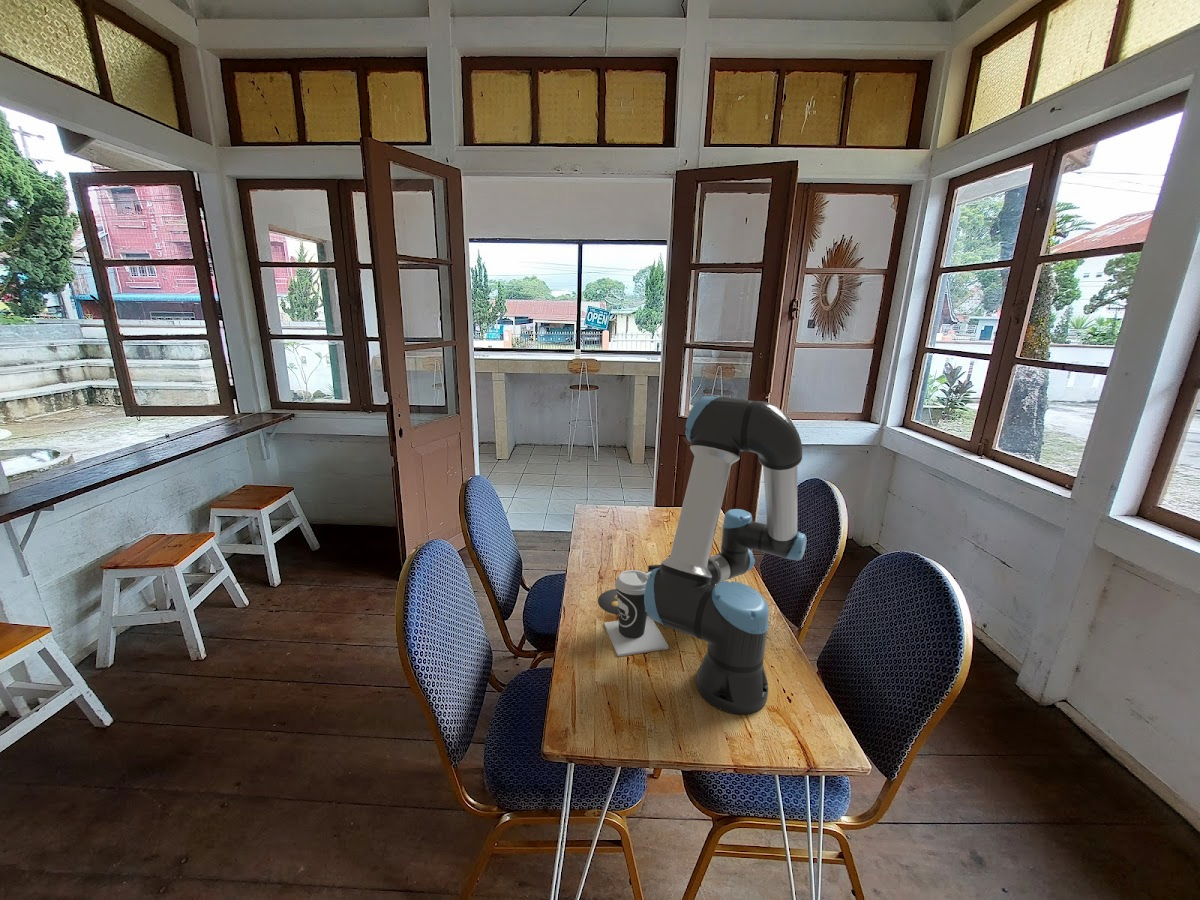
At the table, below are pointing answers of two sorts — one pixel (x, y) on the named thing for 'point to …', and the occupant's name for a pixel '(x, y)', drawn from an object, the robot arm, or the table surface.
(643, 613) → the coffee cup
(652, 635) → the plate
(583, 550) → the table surface
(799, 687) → the table surface
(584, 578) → the table surface
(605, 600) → the coaster
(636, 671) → the table surface
